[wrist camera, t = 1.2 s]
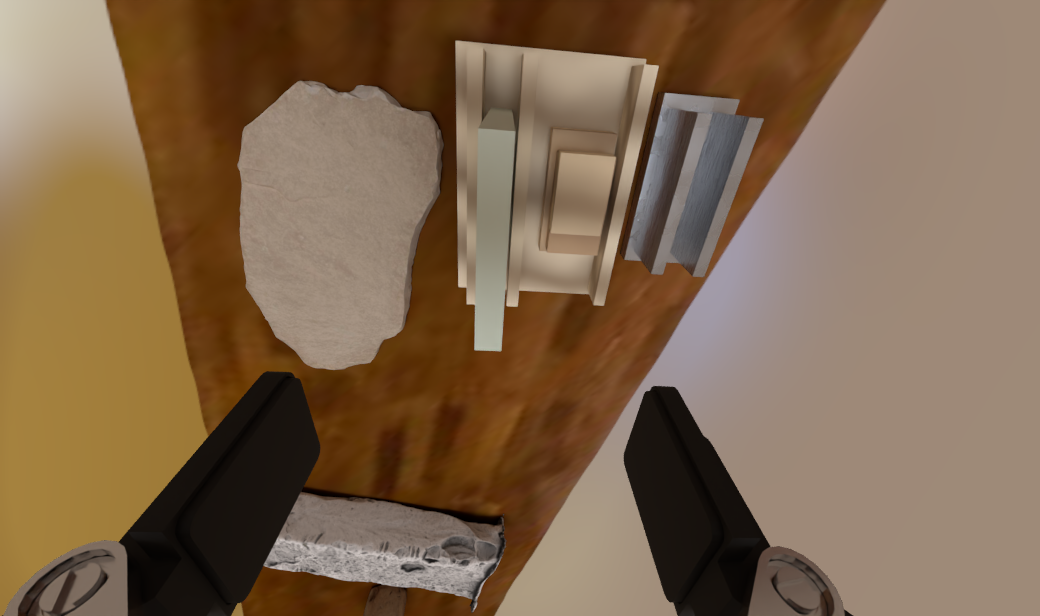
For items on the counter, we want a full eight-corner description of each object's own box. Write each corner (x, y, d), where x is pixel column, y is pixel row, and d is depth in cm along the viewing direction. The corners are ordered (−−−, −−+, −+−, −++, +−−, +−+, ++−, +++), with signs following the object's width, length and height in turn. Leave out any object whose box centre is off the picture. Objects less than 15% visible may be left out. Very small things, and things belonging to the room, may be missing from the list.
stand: (658, 92, 30) (693, 94, 24) (729, 98, 30) (780, 102, 24) (620, 253, 37) (640, 283, 31) (678, 257, 37) (707, 287, 32)
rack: (457, 42, 27) (447, 34, 23) (640, 60, 28) (666, 55, 24) (460, 280, 38) (453, 308, 33) (593, 287, 39) (605, 315, 34)
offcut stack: (551, 126, 29) (557, 133, 25) (612, 132, 30) (628, 139, 26) (538, 244, 34) (542, 264, 31) (590, 247, 35) (600, 268, 31)
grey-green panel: (491, 107, 28) (477, 128, 16) (511, 109, 29) (515, 131, 16) (486, 251, 35) (474, 349, 22) (503, 252, 35) (501, 351, 22)
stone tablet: (461, 119, 31) (457, 122, 29) (391, 374, 45) (385, 388, 43) (245, 29, 27) (224, 24, 25) (244, 336, 41) (230, 349, 39)
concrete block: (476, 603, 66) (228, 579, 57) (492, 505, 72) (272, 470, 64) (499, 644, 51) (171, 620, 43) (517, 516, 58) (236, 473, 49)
